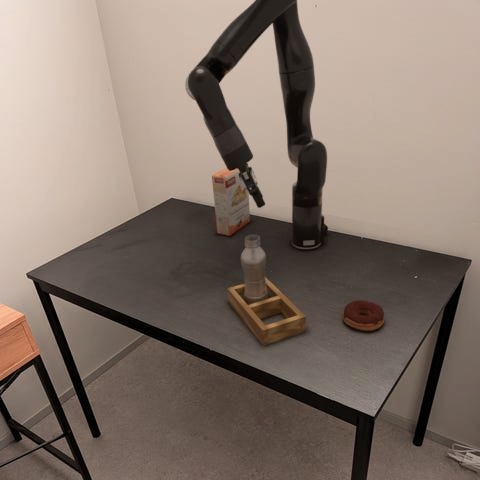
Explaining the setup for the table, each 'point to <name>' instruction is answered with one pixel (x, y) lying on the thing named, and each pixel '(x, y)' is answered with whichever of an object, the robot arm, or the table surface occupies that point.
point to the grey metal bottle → (254, 270)
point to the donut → (357, 320)
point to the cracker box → (230, 202)
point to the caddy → (268, 314)
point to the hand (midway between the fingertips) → (260, 202)
